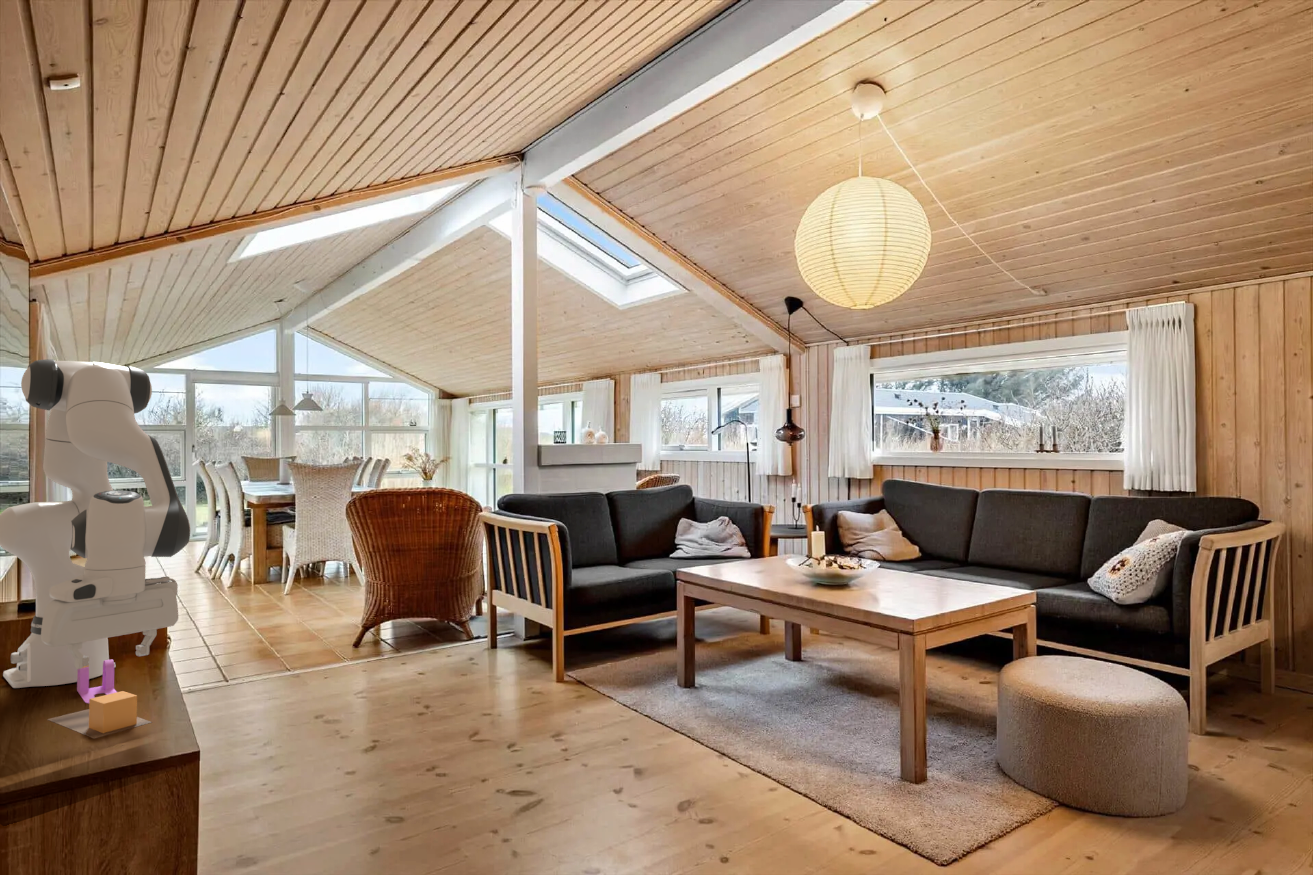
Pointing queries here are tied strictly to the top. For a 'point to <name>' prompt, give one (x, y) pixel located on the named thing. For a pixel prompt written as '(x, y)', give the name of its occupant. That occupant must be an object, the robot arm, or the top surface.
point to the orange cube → (112, 711)
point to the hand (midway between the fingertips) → (112, 661)
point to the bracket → (105, 688)
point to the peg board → (81, 724)
